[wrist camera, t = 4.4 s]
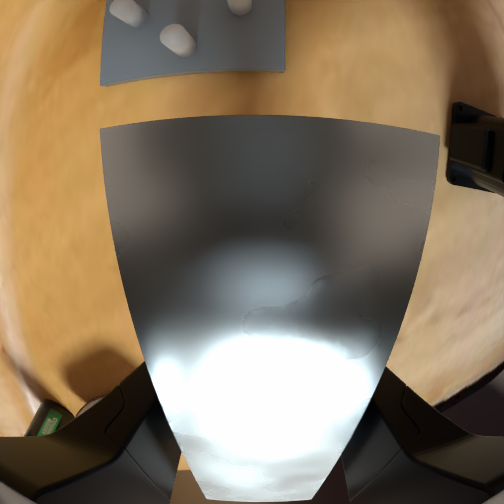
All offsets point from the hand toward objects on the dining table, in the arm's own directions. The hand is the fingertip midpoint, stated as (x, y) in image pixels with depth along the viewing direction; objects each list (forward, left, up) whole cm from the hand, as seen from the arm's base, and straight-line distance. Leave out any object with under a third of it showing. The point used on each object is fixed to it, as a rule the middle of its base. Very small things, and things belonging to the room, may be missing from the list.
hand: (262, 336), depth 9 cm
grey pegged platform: (+5, -19, -12) cm, 23 cm away
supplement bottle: (+32, +32, -12) cm, 47 cm away
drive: (0, 0, -1) cm, 1 cm away
